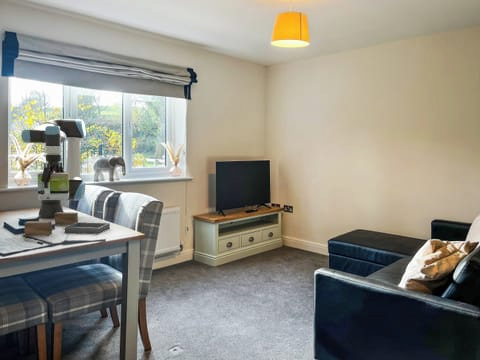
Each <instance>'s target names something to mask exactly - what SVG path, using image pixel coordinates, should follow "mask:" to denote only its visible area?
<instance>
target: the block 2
mask: <svg viewBox="0 0 480 360" xmlns="http://www.w3.org/2000/svg"><path fill="white" fill-rule="evenodd" d="M78 216H79V214H78V212H70V211H68V212H67V211H66V212H65V211H64V212H57V213H55V218H54V225H56V226H69V225H72V224H74V223H77V222H79V217H78Z"/></svg>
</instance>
